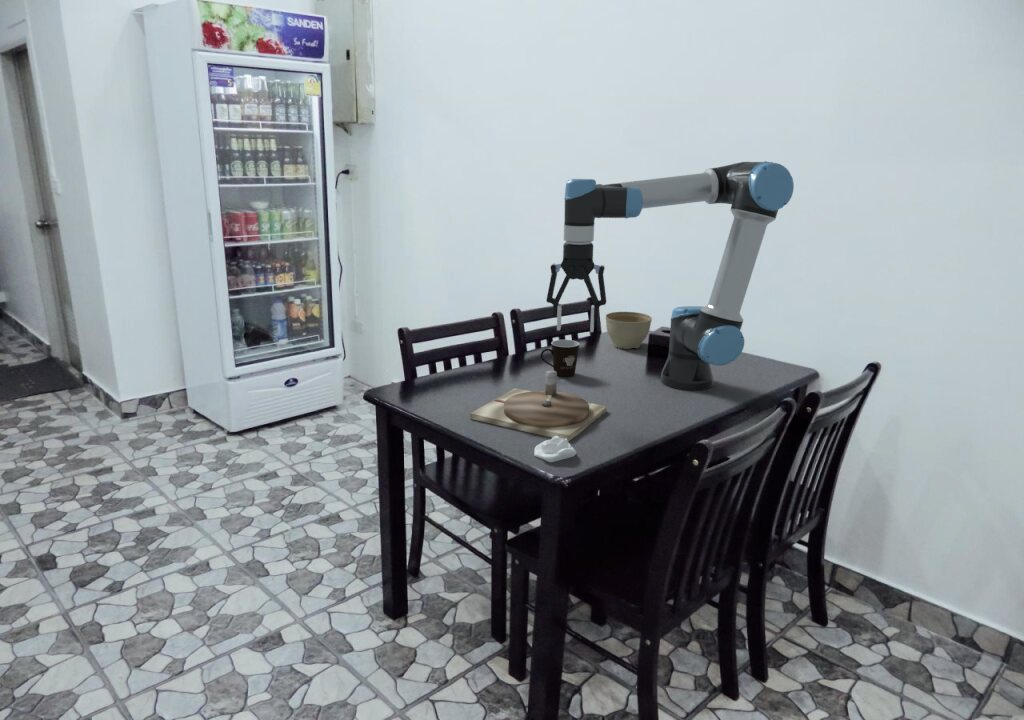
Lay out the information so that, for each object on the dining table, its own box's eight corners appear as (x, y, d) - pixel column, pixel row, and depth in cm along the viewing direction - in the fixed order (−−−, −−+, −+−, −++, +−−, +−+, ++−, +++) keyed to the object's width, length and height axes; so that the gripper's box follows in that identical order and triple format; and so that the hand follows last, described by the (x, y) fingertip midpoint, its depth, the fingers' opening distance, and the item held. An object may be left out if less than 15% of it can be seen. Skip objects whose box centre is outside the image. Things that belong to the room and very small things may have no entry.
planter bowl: (603, 351, 236) (604, 320, 233) (605, 339, 251) (606, 310, 248) (650, 353, 233) (652, 322, 230) (649, 341, 248) (651, 312, 245)
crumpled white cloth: (572, 448, 146) (528, 443, 149) (571, 467, 148) (528, 461, 150) (581, 431, 156) (540, 426, 158) (580, 449, 157) (539, 444, 160)
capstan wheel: (585, 430, 163) (587, 400, 161) (496, 423, 167) (496, 394, 165) (591, 399, 184) (593, 372, 182) (512, 394, 187) (512, 367, 185)
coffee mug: (578, 370, 214) (579, 340, 211) (578, 379, 206) (579, 347, 203) (541, 369, 215) (542, 338, 212) (539, 377, 207) (540, 346, 204)
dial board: (606, 411, 180) (606, 405, 179) (568, 441, 160) (569, 434, 160) (514, 393, 193) (514, 387, 192) (470, 418, 174) (470, 412, 173)
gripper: (620, 241, 172) (615, 328, 179) (539, 239, 176) (538, 324, 182) (619, 245, 165) (614, 335, 172) (535, 242, 169) (533, 331, 175)
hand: (575, 329), depth 177 cm, fingers open, 8 cm apart
